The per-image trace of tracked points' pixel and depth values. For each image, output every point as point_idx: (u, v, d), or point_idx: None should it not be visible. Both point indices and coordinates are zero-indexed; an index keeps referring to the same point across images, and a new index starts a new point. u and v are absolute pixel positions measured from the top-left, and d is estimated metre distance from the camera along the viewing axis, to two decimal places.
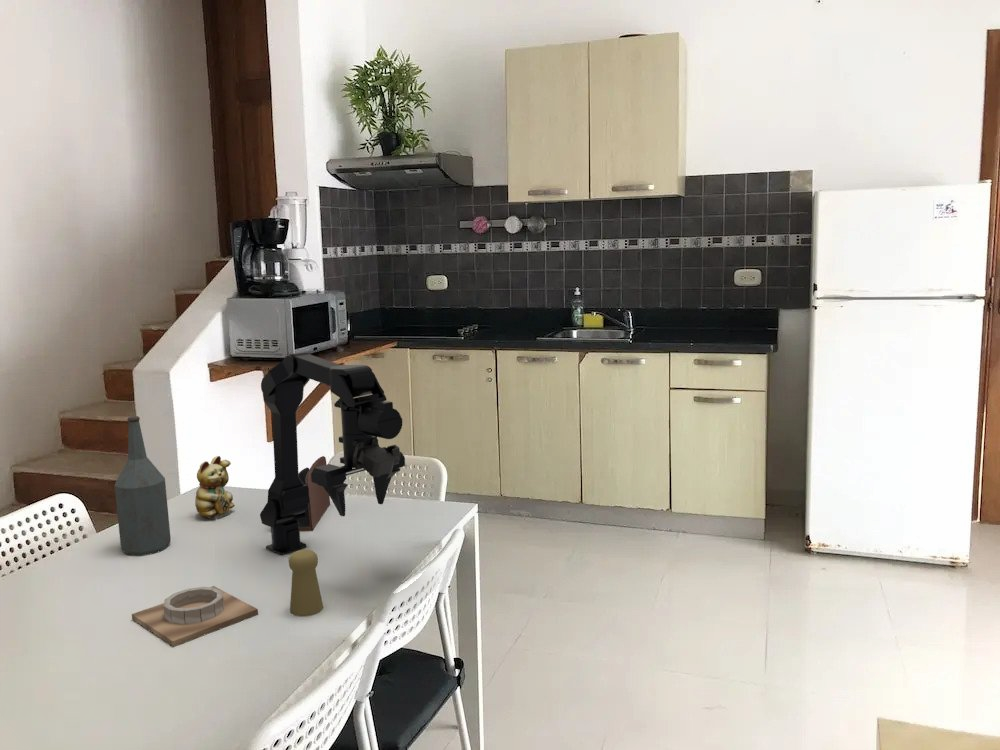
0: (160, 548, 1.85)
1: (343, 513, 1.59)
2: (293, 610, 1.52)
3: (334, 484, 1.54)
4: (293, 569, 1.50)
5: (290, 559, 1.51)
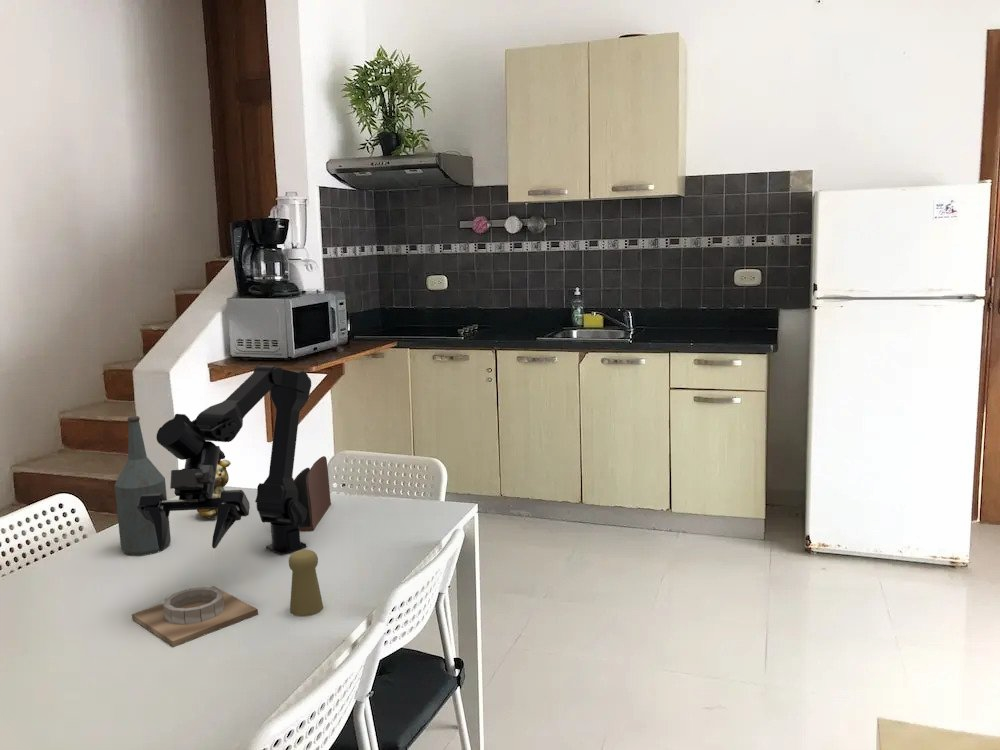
0: None
1: (159, 544, 1.48)
2: (293, 610, 1.52)
3: (142, 503, 1.50)
4: (293, 569, 1.50)
5: (290, 559, 1.51)
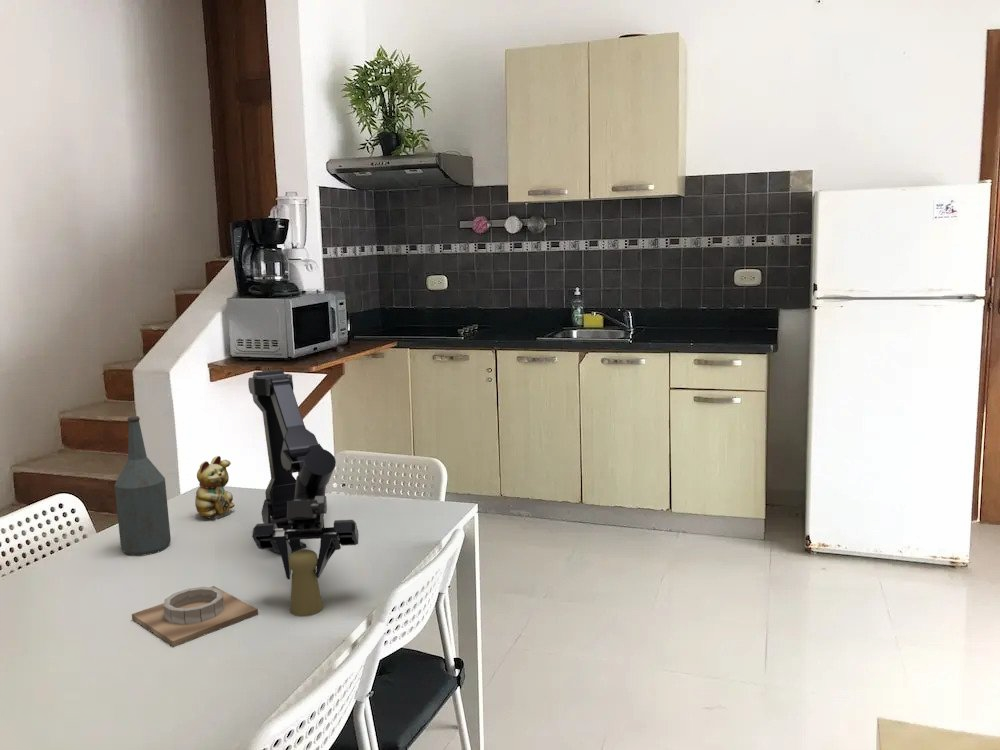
0: (160, 548, 1.85)
1: (286, 573, 1.51)
2: (293, 610, 1.52)
3: (258, 533, 1.53)
4: (293, 569, 1.50)
5: (290, 559, 1.51)
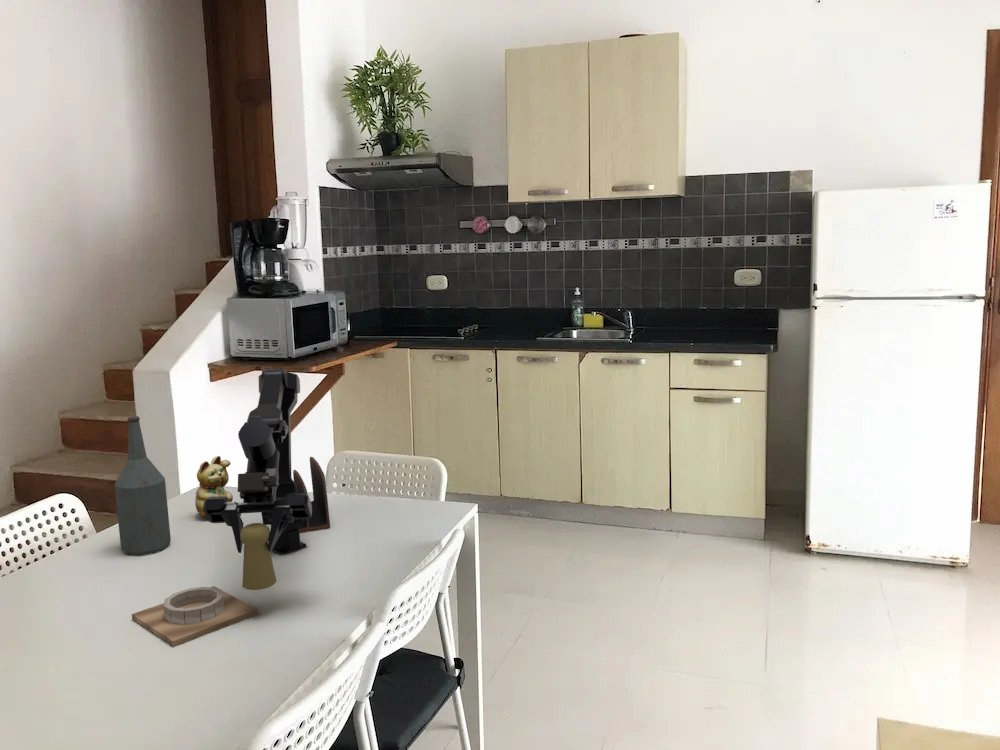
0: (160, 548, 1.85)
1: (237, 547, 1.50)
2: (245, 584, 1.50)
3: (208, 507, 1.51)
4: (244, 542, 1.49)
5: (241, 532, 1.49)
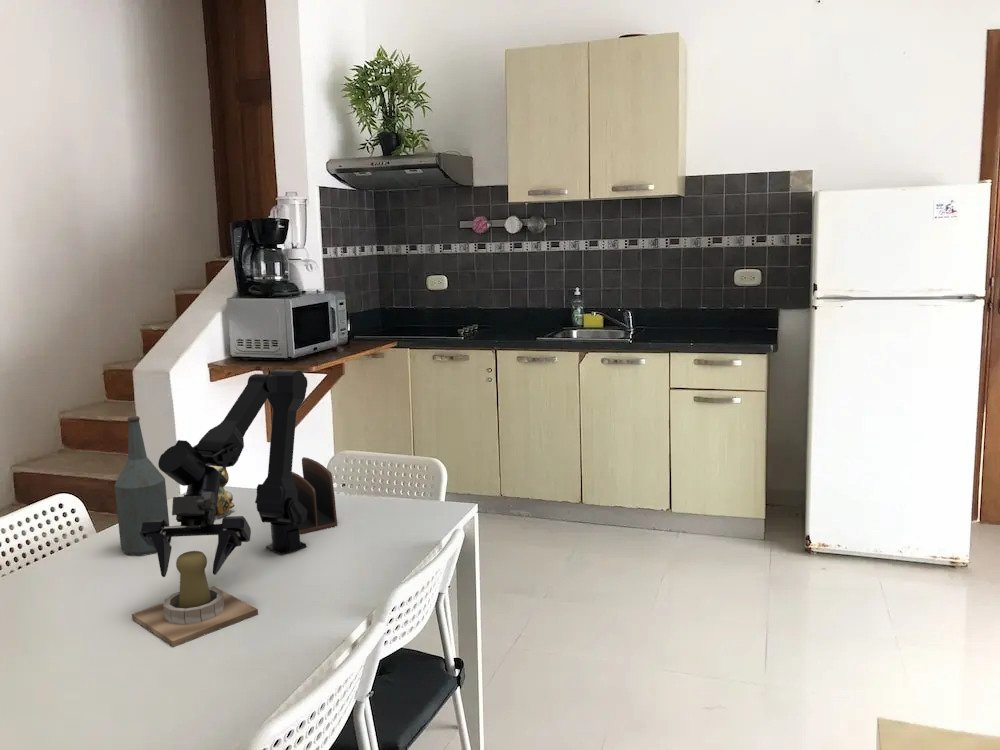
0: None
1: (161, 571, 1.49)
2: None
3: (144, 530, 1.51)
4: (180, 571, 1.49)
5: (177, 560, 1.49)
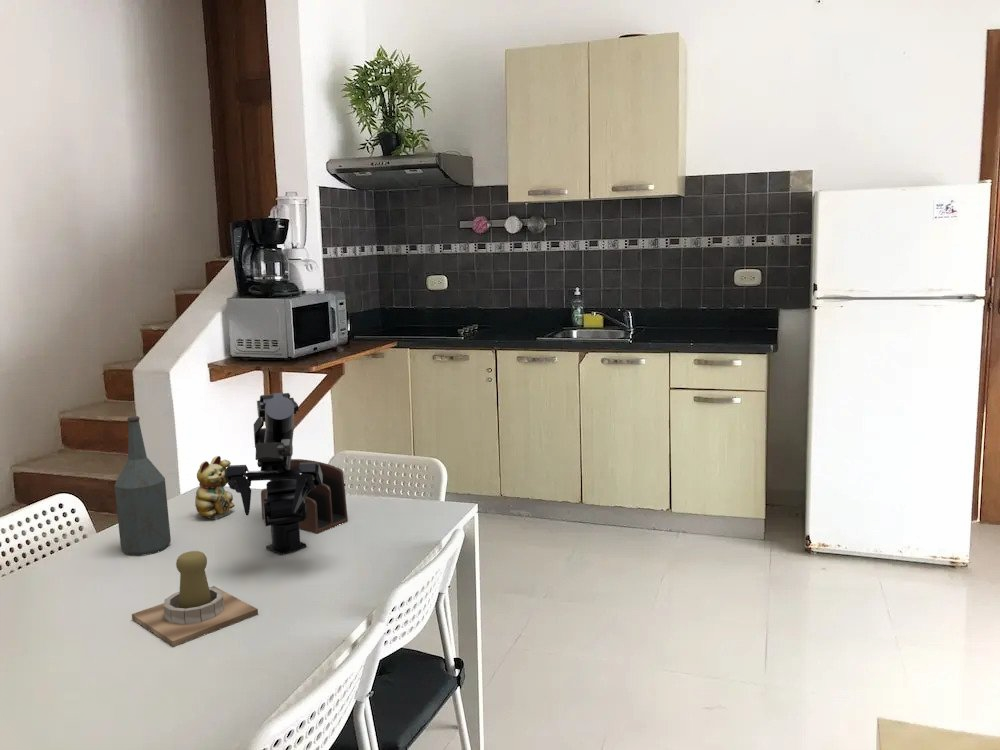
0: (160, 548, 1.85)
1: (245, 510, 1.66)
2: None
3: (229, 473, 1.68)
4: (180, 571, 1.49)
5: (177, 561, 1.49)
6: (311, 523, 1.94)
